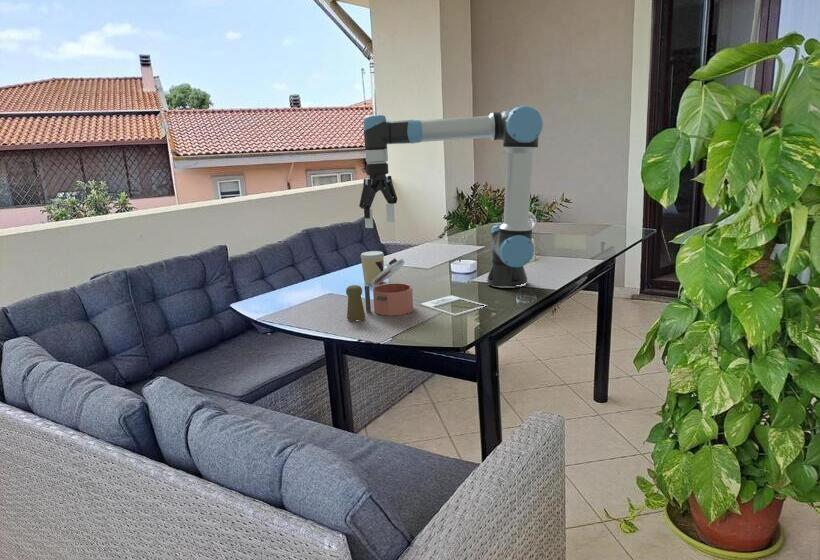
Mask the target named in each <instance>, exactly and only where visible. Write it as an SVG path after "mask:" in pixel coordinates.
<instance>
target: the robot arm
mask: <svg viewBox="0 0 820 560" xmlns="http://www.w3.org/2000/svg"><path fill="white" fill-rule="evenodd" d="M386 117H387V116H385V115H384V114H382V115H381V114H379V115H376V114H375V115H366V116H365V117H364V118H363V137H364V149H365V150H364V151H365V163H367V164H366V165H365V169H366V171H365V172H366V174H367V176H369V178H364V179H363V186H362V190H361V196H360V201H359V208H361V209H362V210H363V214H364V226H365V229H373V228H374V217H373V216H374V215H373V208H371V207H372V204H373V202H374V200H375V197H376V194H377V193H378V192H379V191H380V192H381V194H382V195H383V197H384V199H385V201H386V202H387V203H386V204H385V206H386V222H387V223H395V204H397V201H398V196H397V194H396V189H395V187H394V183H393V180H392V176H391V175H387V174H389V164H388V163H387V162H388V161H389V156H388V145H399V144H400V145H401V144H402V145H403V144H406V145H407V144H411V145H412V144H418V143H424V142H425V143H427V142H428V143H429V142H443V141H444V142H445V141H457V140H459V141H460V140H472V139H474V140H475V139H490V140H491V141H503V142H502V145H503V146H502V148H503V149H504V150H505V151H506V153H507V154H506V167H505V169H506V170H505V171H506V172H505V189H504V191H505V192H504V204H503V205H504V207H503V222H502V223H501V224H500V225H499V224H497V225H493V226H492V227H491V230H490V231H491V232H490V236H491V237H490V238H491V242H490V244H491V267H490V269H489V273H488V275H487V277H486V279H487V280H486V281H487V283H488V284H490V285H494V286H516V285H521V284H524V283H526V282H527V283H528V276H527V273H526V271H525V267H524V266H526V265H527V264H528V263H530V262H531V261H532V259H533V258H534V257H533V256H534V255H535V248H534V247H535V246H534V244H533V241H532V240H533V227H532V225H531V224H529V219H530V205H531V204H530V203H531V201H530V200H531V187H532V173H533V160H534V159H533V157H534V152H535V151H537V149H538V148H539V139H540V138H539V136H541V133H542V130H543V125H544V122H543V118H542V115H541V114H540V112H539V111H538V110H537V109H536V108H534V107H532V106H529V105H518V106H516V107H512V108H509V109H506V110H503V111H497V112H496V111H495V112H491V113H489V115H482V116H465V117H452V118H438V119H437V118H436V119H435V118H434V119H422V120H419V119H408V120H407V119H406V120H404V119H403V120H387V118H386Z"/></svg>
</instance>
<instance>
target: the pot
mask: <svg viewBox="0 0 820 560" xmlns="http://www.w3.org/2000/svg"><path fill="white" fill-rule="evenodd" d="M372 291H373V292H372V295H373V296H372V297H373V311H374V313H375V312H376V313H375V314H377V313H378V314H377V315H379V314H381V315H380V316H384V315H390V316H389V317H392V316H391V315H398V316H402V314H403V315H407V314H406V313H408V314H410V313H411V312H413V311H414V298H413V286H412V285H411V284H409V283H405V282H404V283H402V282H391V283H390V282H389V283H384V281H383V282H382V283H380V284H378V285H376V286H373V288H372ZM370 295H371V294H370V284H366V285H364V297H365V299H364V300H365V311H370V312H371V311H372V309H371V296H370ZM409 312H410V313H409Z"/></svg>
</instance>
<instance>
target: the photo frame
mask: <svg viewBox="0 0 820 560" xmlns="http://www.w3.org/2000/svg"><path fill="white" fill-rule="evenodd" d="M462 300H464V301H463V302H466V301H467V302H466V303H469V302H471V303H470V304H473V303H475V304H474V305H477V304H479V305H478V306H477V307H474V308H471V309H468V310H463V311H461V312H457V313H453V312H451V311H447V310H443V309H440V308H437V307H439V306H442V305H443V306H444V305H446V304H451V303H453V302H458V301H462ZM480 305H484V306H480ZM419 306H421V307H425V308H428V309H431V310H433V311H436V312H440V313H443V314H447V315H449V316H453V317H457V316H461V315H465V314H467V313H471V312H474V310H475V311H478V310H481V309H484V308H483V307H485V306H487V307H488V304H485V303H482V302H477V301H473V300H470V299H466V298H462V297H459V296H455V295H452V294H451V295H447V296H444V297H440V298H436V299H432V300H429V301H426V302H421V303H419ZM480 308H481V309H480ZM485 308H486V307H485ZM477 309H478V310H477Z"/></svg>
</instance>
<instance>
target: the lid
mask: <svg viewBox="0 0 820 560" xmlns="http://www.w3.org/2000/svg"><path fill="white" fill-rule="evenodd" d="M388 264H389V265H388V266H387V267H386V268H385V269H384V270H383V271H382V272H381V273H380V274H378V275H377V276H376V277H375V278H374V279H373V280H372V281H371V283H370V284H369V285H370V286H372V287H373V288H374V287H376V286H378V285H379V284H380V283H382V282H383V283H384V281H386V280H387V279H389V278H390V277H392V276H393V275H395V273H397V271H399V270H400V269H401V268H402V267H403V266H404V265H405V260H404V259H398V260H397V259H396V258H392V260H391V261H389V262H388Z"/></svg>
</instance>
